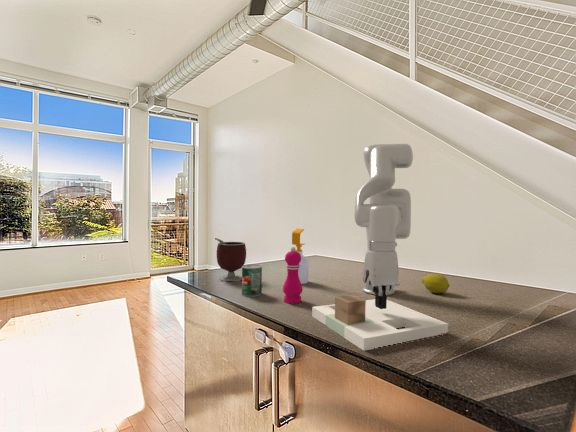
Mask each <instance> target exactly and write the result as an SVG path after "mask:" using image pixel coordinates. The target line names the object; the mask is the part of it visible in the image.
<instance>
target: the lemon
mask: <svg viewBox="0 0 576 432" xmlns="http://www.w3.org/2000/svg"><path fill="white" fill-rule="evenodd" d="M421 283H422V284H424V287H425V289H427V291H429V292H431V293H434V294H437V293H438V295H439V294H440V293H441V294H444V293H446V292H447V291H448V289H449V288H450V286H451V285H450V283H449V280H448V279H447V277H446V276H444V275H443V274H440V273H430V274H427V275H425V276H423V277H422V278H421ZM441 294H440V295H441Z"/></svg>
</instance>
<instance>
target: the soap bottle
mask: <svg viewBox="0 0 576 432" xmlns="http://www.w3.org/2000/svg"><path fill="white" fill-rule="evenodd" d="M304 231H305V228H296V229H294V230H293V231H292V233H291V243H292V245H295V248H296V250H295V251H296V252H298V253H300V255H301V261H300V263H299V265H300V266H299V267H300V268H299V270H298V276H299V279H300V282H301V284H302V285H306V284H308V283H309V262H310V261H309V259H308V258H307V257H306V256H304V255H303V249H301V248H302V247H303V246H304V245H305V243H301V233H303V232H304Z"/></svg>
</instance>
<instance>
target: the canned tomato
mask: <svg viewBox="0 0 576 432" xmlns="http://www.w3.org/2000/svg"><path fill="white" fill-rule="evenodd" d="M241 276H242V281H241V295H242V296H243V297H249V296H250V297H259V296H261V295H263V292H262V290H263V285H262V283H263V282H262V281H263V279H262V278H263V277H262V276H263V266H262V265H259V264H244V265H243V266H242V268H241Z"/></svg>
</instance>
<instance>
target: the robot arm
mask: <svg viewBox="0 0 576 432" xmlns="http://www.w3.org/2000/svg"><path fill="white" fill-rule="evenodd" d="M413 158H414V155H413V149H412V146H411V145H410V144H408V143H389V144H388V143H387V144H386V143H381V144H371V145H368V146H366V147H365V148H364V150H363V161H364V165H365V167H366V169H367V172H368V176H369V180H367V181H366V182H365V183H364V184H362V186H361V187H360V188H359V189H358V192H357V194H356V196H355V202H354V204H355V205H354V214H353V215H354V223H355V224H356V225H357V226H358V227H361V228H365V231H366V240H367V243H366V244H367V251H366V253H365V256H364V261H363V269H362V271H363V272H362V281H363V283H365V285H364V286H363V288H362V291H363V292H364V293H366V294H370V295H374V297H375V298H374V299H375V306H376V307H378V308H380V309H383V308H384V309H386V304H387V300H388V298H387V297H388V296H391V295H393V294H395V289H394V288H395V287H400V284H401V283H400V281H399V260H398V253H397V251H396V247H397V246H398V243H397V242H396V240H405V239H408V238H409V237H410V234H411V221H412V220H411V219H412V218H411V216H412V213H411V212H412V202H411V201H412V199H411V194H410V191H409V190H407V189H406V188H393V186H394V185H395V183H396V169H407V168H408V169H409V168H410V167H411V166H412V164H413V160H414V159H413ZM368 199H369V203H365V202H366V200H368ZM364 203H365V204H364Z"/></svg>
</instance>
